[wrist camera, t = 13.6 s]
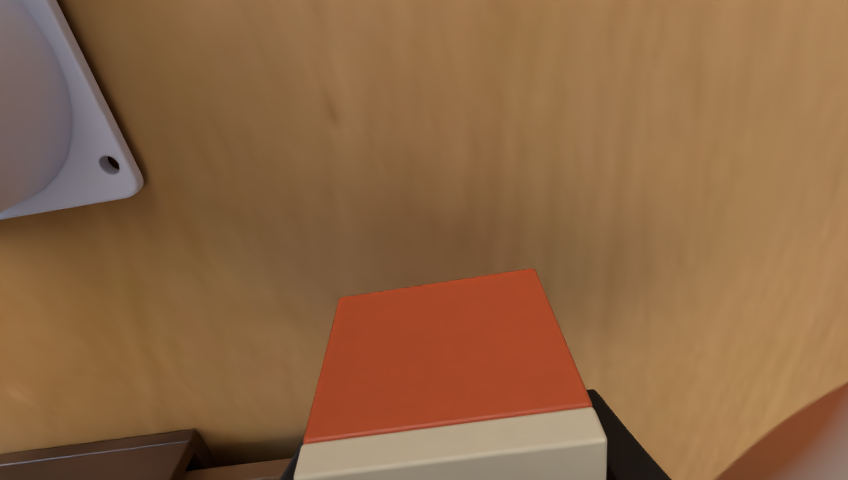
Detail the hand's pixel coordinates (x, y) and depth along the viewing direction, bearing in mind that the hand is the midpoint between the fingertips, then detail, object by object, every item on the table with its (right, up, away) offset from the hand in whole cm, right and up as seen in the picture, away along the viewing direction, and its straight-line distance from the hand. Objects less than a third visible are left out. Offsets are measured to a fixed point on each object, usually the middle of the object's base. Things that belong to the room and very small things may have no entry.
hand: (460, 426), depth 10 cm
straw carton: (0, +1, +1) cm, 1 cm away
